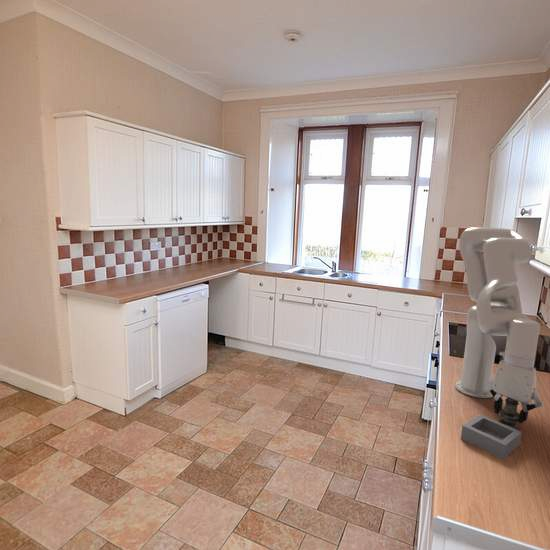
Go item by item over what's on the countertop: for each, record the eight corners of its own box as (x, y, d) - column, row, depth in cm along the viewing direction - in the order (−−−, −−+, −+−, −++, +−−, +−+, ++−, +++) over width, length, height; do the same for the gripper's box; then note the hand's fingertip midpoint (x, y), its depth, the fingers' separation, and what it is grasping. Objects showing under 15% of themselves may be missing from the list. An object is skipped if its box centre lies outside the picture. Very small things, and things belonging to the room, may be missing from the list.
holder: (478, 426, 113) (480, 414, 112) (519, 445, 104) (522, 432, 104) (460, 438, 106) (462, 425, 106) (503, 459, 98) (505, 445, 97)
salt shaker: (511, 419, 118) (517, 383, 116) (524, 430, 113) (530, 392, 111) (493, 419, 118) (498, 382, 116) (504, 429, 112) (511, 391, 110)
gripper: (482, 353, 117) (474, 408, 119) (548, 373, 103) (537, 434, 106) (493, 349, 121) (485, 402, 124) (557, 367, 108) (547, 426, 111)
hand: (509, 416), depth 115 cm, fingers closed on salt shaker, 5 cm apart
